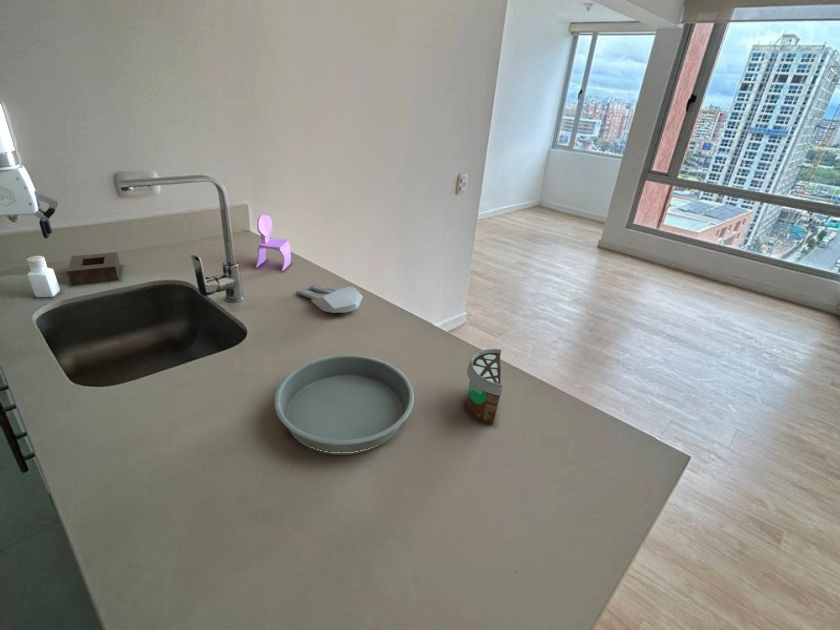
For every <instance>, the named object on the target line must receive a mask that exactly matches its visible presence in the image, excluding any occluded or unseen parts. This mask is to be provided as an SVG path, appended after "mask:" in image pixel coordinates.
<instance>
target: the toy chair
mask: <svg viewBox="0 0 840 630" xmlns="http://www.w3.org/2000/svg"><path fill="white" fill-rule="evenodd" d="M256 228H257V232H258V233H259V235H260V237H261V243H259V244H258V248H257V261H256V264H255V268H258V267H260V265H262V264H263V263H264V262H265V261H266V260H267V258H266V252H267V249H268V250H274V251H278V252H279V253H280V254H281V256H282V258H283V262H282V267H281V270H280V271H281V272H283V271H284V270H286V269H287V267H288V266H290V265H291V263H292V262H291V259H292V257H291V256H292V255H291V253H292V252H291V244H290V242H289V239H280V238H274V237H270V234H271V232H272V231H273V229H274V228H273V222H272V217H271V216H269V215H266V214H262V215H259V216H258V218H257V223H256Z"/></svg>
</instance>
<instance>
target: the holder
mask: <svg viewBox="0 0 840 630" xmlns="http://www.w3.org/2000/svg"><path fill="white" fill-rule="evenodd" d="M66 273H67V277H68V279H69V283H70V285H71V286H79V285H81V286H82V285H88V284H97V283H106V282H115V281H119V280H120V273H121V263H120V258H119V254H118V252H117V251H116V252H115V251H114V252H105V253H104V252H103V253H92V254H82V255H71V257H70V260H69V264H68V267H67V269H66Z"/></svg>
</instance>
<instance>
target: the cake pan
mask: <svg viewBox="0 0 840 630" xmlns="http://www.w3.org/2000/svg"><path fill="white" fill-rule="evenodd" d="M273 400H274V402H273V403H274V409H275V413H276V415H277V417H278V419H279V420H280V422H281V423H282V424H283V425H284V426H285V427H286V428H287V429H288V431H289V432H290V434H291V436H293V435H294V436H295V437H296V438H295V437H294V436H293V438H294V439H295V440H296V441H297V442H298V443H300V444H301V445H303V446H304V447H306V448H308V449H310V450H313V451H315V452H318V453H321V454H327V455H331V456H351V455H357V454H363V453H366V452H369V451H372V450H374V449H377V448H379V447H380V446H382V445H383V444H385V443H387V442H388V441H389V440H391V439H392V438H393V437H394V435H395V434H397V432H398V431H399V429H400V427H401V425H402V424H403V423H404V422H405V421H406V420H407V418H409V415H410V414H411V413H412V410H413V407H414V402H415V393H414V389H413V386H412V384H411V382H410V380H409V379H408V377H407V376H406V375H405V374H404V373H403V372H402V371H400V369H398V368H396V367H395V366H394V365H392V364H390V363H388V362H386V361H384V360H381V359H379V358H375V357H371V356H366V355H360V354H359V355H358V354H335V355H328V356H323V357H320V358H315V359H313V360H310V361H307V362H305V363H303V364H301V365H300V366H298V367H296V368H294V369H293V370H292V371H291V372H289V373H288V374H287V375H286V376H285V377H284V378H283V379H282V380H281V382H280V383H279V385H278V387H277V389H276V391H275V393H274V399H273ZM300 441H301V442H300ZM384 441H385V442H384ZM303 443H304V444H303ZM305 444H306V445H305ZM376 445H377V446H376ZM309 446H310V447H309ZM374 446H375V447H374ZM311 447H313V448H311ZM371 447H373V448H371ZM314 448H315V449H314ZM368 448H370V449H368ZM317 449H319V450H317ZM364 449H367V450H364ZM320 450H322V451H320ZM360 450H364V451H360ZM324 451H328V452H324ZM354 451H359V452H354ZM330 452H341V453H330ZM342 452H354V453H342Z"/></svg>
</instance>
